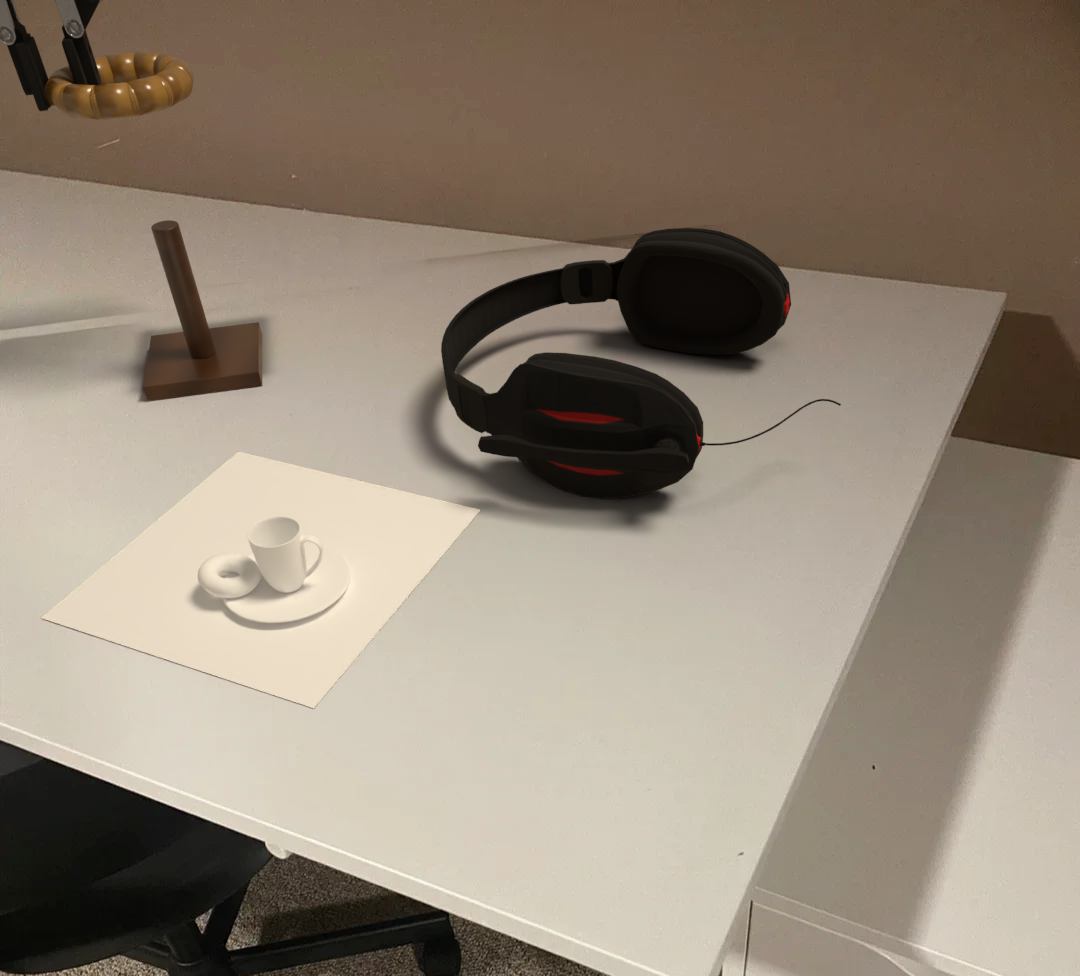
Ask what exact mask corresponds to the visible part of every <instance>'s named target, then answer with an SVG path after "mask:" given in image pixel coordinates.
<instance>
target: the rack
mask: <svg viewBox="0 0 1080 976" xmlns="http://www.w3.org/2000/svg"><path fill="white" fill-rule="evenodd" d="M150 228H151V229H150V230H151V232H152V236H153V239H154V242H155V246H156V248H157V251H158V255H159V258H160V261H161V265H162V268H163V271H164V274H165V277H166V280H167V284H168V288H169V291H170V293H171V296H172V300H173V303H174V307H175V309H176V313H177V316H178V319H179V322H180V326H181V329H182V331H178V332H170V333H162V334H155V335H151V336H150V341H149V346H148V353H147V359H146V365H145V372H144V377H143V384H142V389H143V392H144V395H145V398H146V400H147V402H149V401H156V400H164V399H173V398H180V397H187V396H195V395H202V394H211V393H219V392H225V391H232V390H239V389H247V388H255V387H262V386H263V333H262V329H261V326H260V325H261V324H260V322H259V321H256V322H250V323H249V322H248V323H240V324H234V325H233V324H232V325H226V326H225V325H224V326H217V327H216V326H215V327H210V326H209V324H208V321H207V316H206V314H205V310H204V307H203V303H202V299H201V296H200V293H199V289H198V285H197V283H196V279H195V275H194V272H193V269H192V266H191V262H190V259H189V255H188V251H187V248H186V244H185V242H184V238H183V235H182V231H181V228H180V224H179V222H178V221H177V220H171V219H170V220H168V219H167V220H161V221H157V222H155V223H153V224H152V225H151V227H150Z"/></svg>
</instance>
